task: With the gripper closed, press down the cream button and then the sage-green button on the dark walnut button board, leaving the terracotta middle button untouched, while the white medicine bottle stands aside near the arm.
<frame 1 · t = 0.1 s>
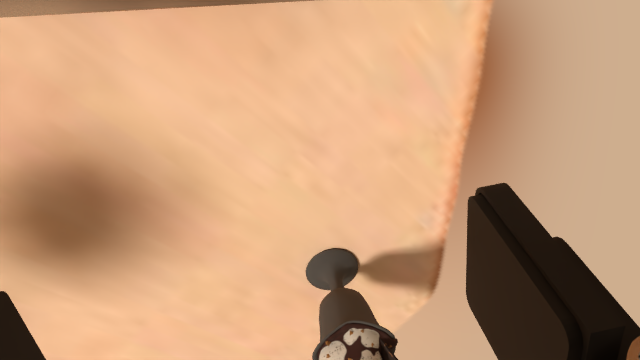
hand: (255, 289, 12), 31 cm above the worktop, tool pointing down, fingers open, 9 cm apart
sundae: (331, 268, 53), on the worktop
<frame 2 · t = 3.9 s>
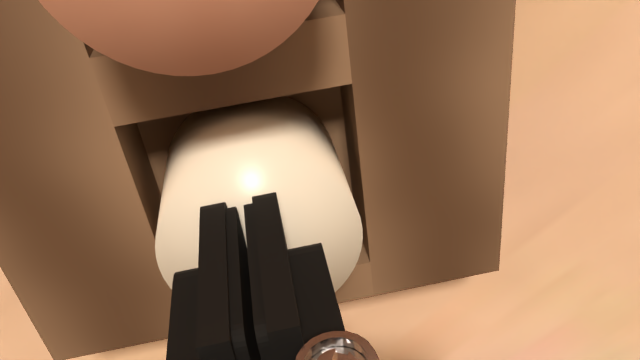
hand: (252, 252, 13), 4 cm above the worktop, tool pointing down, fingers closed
cream button: (257, 204, 14), point 3 cm above the worktop, slide at 1.4 cm
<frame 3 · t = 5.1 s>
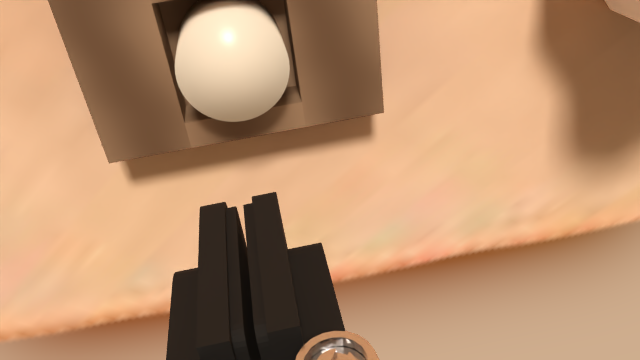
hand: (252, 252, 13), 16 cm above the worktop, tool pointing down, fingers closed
cream button: (231, 55, 24), point 3 cm above the worktop, slide at 1.5 cm
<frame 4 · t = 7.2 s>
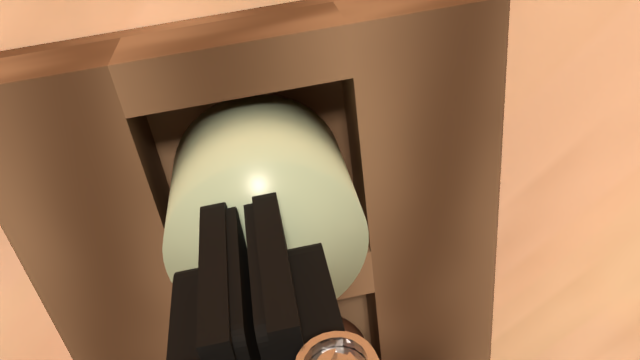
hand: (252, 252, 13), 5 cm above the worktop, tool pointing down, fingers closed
button board: (291, 311, 21), on the worktop
sage button: (263, 207, 14), point 3 cm above the worktop, slide at 0.8 cm, touching gripper
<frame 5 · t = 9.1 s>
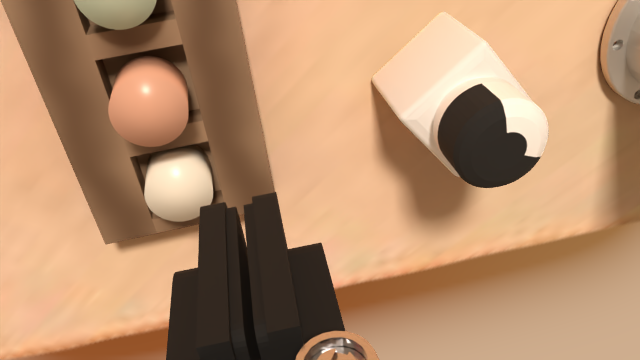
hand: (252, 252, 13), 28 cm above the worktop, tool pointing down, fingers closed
medicine bottle: (431, 74, 43), on the worktop
button board: (153, 77, 39), on the worktop
cream button: (179, 181, 41), point 3 cm above the worktop, slide at 1.5 cm
terracotta button: (150, 101, 35), point 4 cm above the worktop, slide at 0.0 cm
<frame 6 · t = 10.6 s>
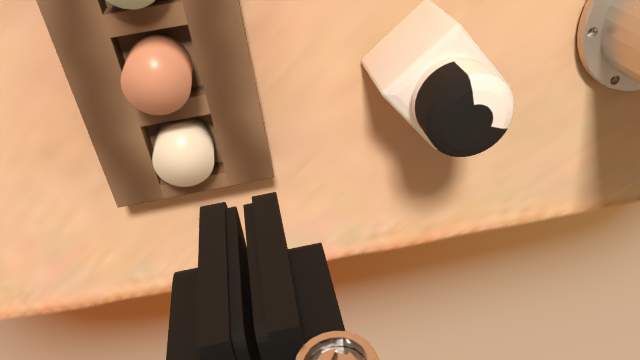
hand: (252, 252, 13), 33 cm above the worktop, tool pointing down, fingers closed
medicine bottle: (417, 57, 47), on the worktop
button board: (162, 55, 43), on the worktop
cream button: (184, 150, 45), point 3 cm above the worktop, slide at 1.5 cm
terracotta button: (158, 74, 40), point 4 cm above the worktop, slide at 0.0 cm
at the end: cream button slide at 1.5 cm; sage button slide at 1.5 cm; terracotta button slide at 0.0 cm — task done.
